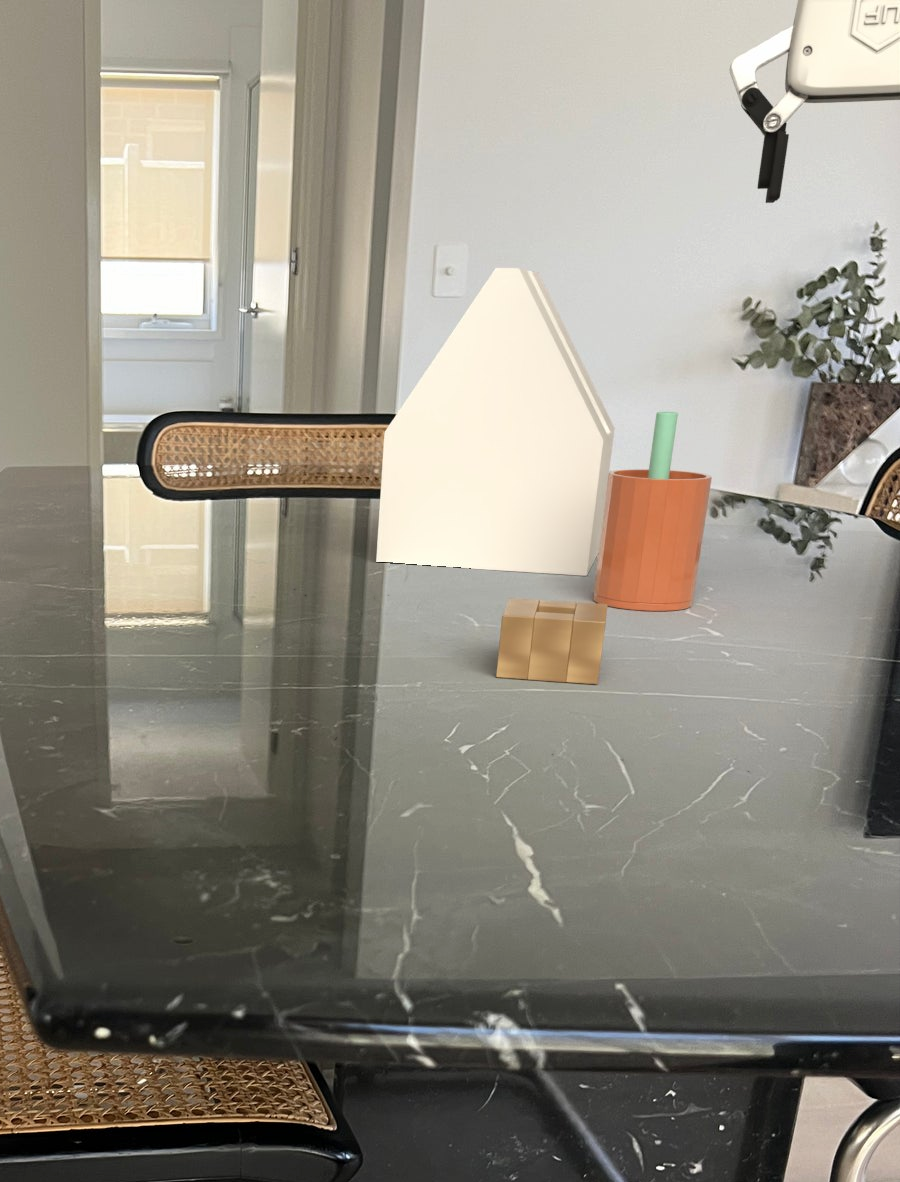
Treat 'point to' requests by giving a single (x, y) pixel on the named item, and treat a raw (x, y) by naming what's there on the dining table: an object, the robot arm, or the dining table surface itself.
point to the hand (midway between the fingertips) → (848, 199)
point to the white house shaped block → (499, 445)
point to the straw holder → (551, 641)
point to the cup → (651, 540)
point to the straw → (662, 445)
